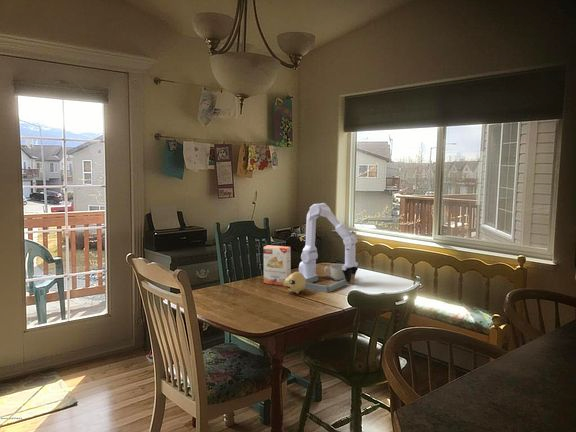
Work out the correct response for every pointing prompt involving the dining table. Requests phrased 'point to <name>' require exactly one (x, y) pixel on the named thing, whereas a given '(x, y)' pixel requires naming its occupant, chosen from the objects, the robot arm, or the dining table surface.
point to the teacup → (335, 271)
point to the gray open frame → (322, 287)
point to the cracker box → (276, 264)
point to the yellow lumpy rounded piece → (295, 282)
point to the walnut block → (351, 279)
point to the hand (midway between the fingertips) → (349, 280)
